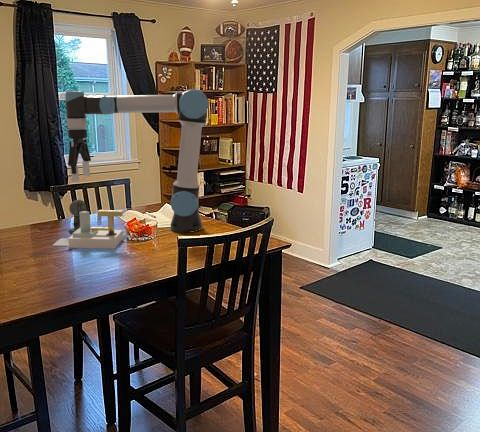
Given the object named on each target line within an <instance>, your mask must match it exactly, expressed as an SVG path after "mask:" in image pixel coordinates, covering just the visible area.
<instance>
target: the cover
mask: <svg viewBox="0 0 480 432" xmlns="http://www.w3.org/2000/svg"><path fill="white" fill-rule="evenodd" d="M79 214H80V228H79V229H77V230H76V231H75V232H74V233H73V234H72V235H73V237H93V236H94V235H95V234H96V233H97V232H98V230H91V217H90V216H91V215H90V211H87V210H86V211H82V212H79Z"/></svg>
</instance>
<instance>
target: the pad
mask: <svg viewBox="0 0 480 432" xmlns="http://www.w3.org/2000/svg"><path fill="white" fill-rule="evenodd" d="M68 238H69V237H68ZM68 238H64V237H63V238H61V237H60V239H58V240H56V241H55V242H54V243H53V244H52V245H51V246H52V247H69V242H68Z"/></svg>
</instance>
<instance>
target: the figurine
mask: <svg viewBox="0 0 480 432" xmlns="http://www.w3.org/2000/svg"><path fill="white" fill-rule="evenodd" d="M82 211H87V204H86V203H85V201H84V200H81V199H75V200H73V201H71V202H70V204H69V212H70V214H71V215H72V216H74V219H73V223H72V225H73V228H70V229H68V230H67V232H68V233H69V234H70V235H73V233H74V232H75V231H76V230H77V229H79V228H80V214H79V212H82Z"/></svg>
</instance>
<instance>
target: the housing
mask: <svg viewBox="0 0 480 432" xmlns="http://www.w3.org/2000/svg"><path fill="white" fill-rule="evenodd" d="M123 239H124V231H123V229H114V234H112V235H110V234H109V231H99V230H98V232H97V233H96V234H95V235H94V236H93V237H73V234H71V236H70V237H68V242H69V246H68V248H69V249H74V248H75V249H116V248H117V247H118V246H119V244H120V243H121V242H122V240H123Z"/></svg>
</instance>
